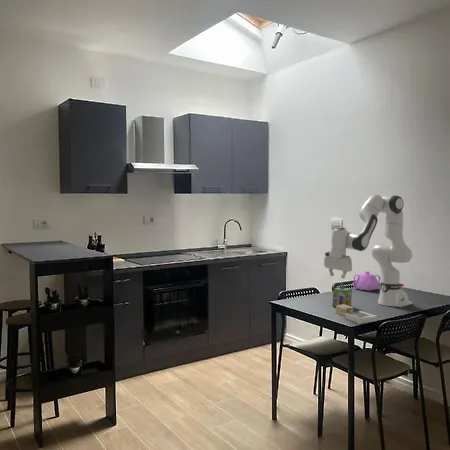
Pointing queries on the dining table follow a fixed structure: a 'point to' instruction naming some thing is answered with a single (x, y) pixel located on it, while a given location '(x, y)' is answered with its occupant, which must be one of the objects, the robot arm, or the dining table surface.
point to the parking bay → (361, 317)
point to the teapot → (366, 281)
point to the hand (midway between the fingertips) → (337, 277)
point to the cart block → (344, 309)
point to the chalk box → (342, 296)
